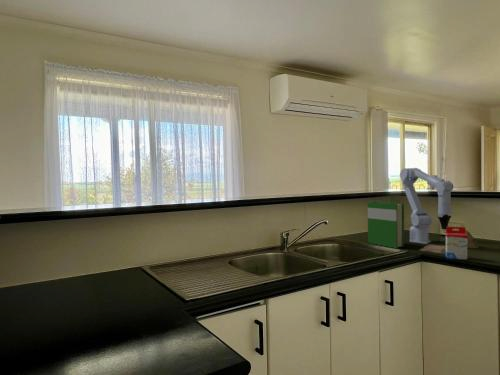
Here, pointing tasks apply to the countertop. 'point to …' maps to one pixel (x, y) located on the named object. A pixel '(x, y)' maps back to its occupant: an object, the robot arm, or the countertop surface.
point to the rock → (471, 241)
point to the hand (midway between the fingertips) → (444, 229)
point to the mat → (433, 251)
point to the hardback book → (386, 224)
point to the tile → (435, 248)
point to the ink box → (456, 243)
